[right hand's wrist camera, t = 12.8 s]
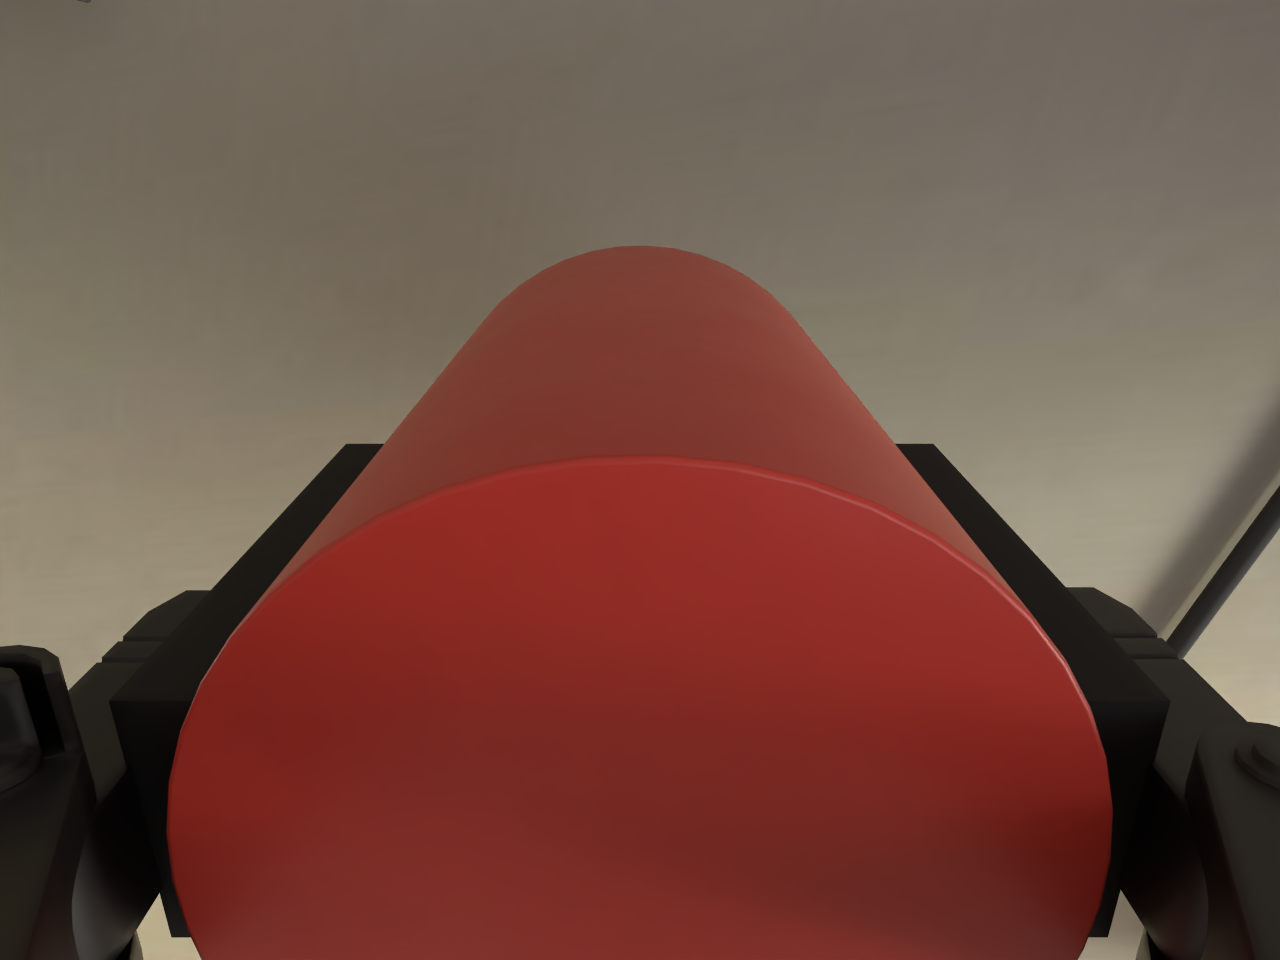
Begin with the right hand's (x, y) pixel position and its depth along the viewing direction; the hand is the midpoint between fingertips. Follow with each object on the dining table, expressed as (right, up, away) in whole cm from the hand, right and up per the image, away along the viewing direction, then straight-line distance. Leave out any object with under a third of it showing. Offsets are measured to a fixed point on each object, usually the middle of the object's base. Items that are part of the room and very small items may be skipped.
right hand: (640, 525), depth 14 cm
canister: (0, +1, +3) cm, 4 cm away
